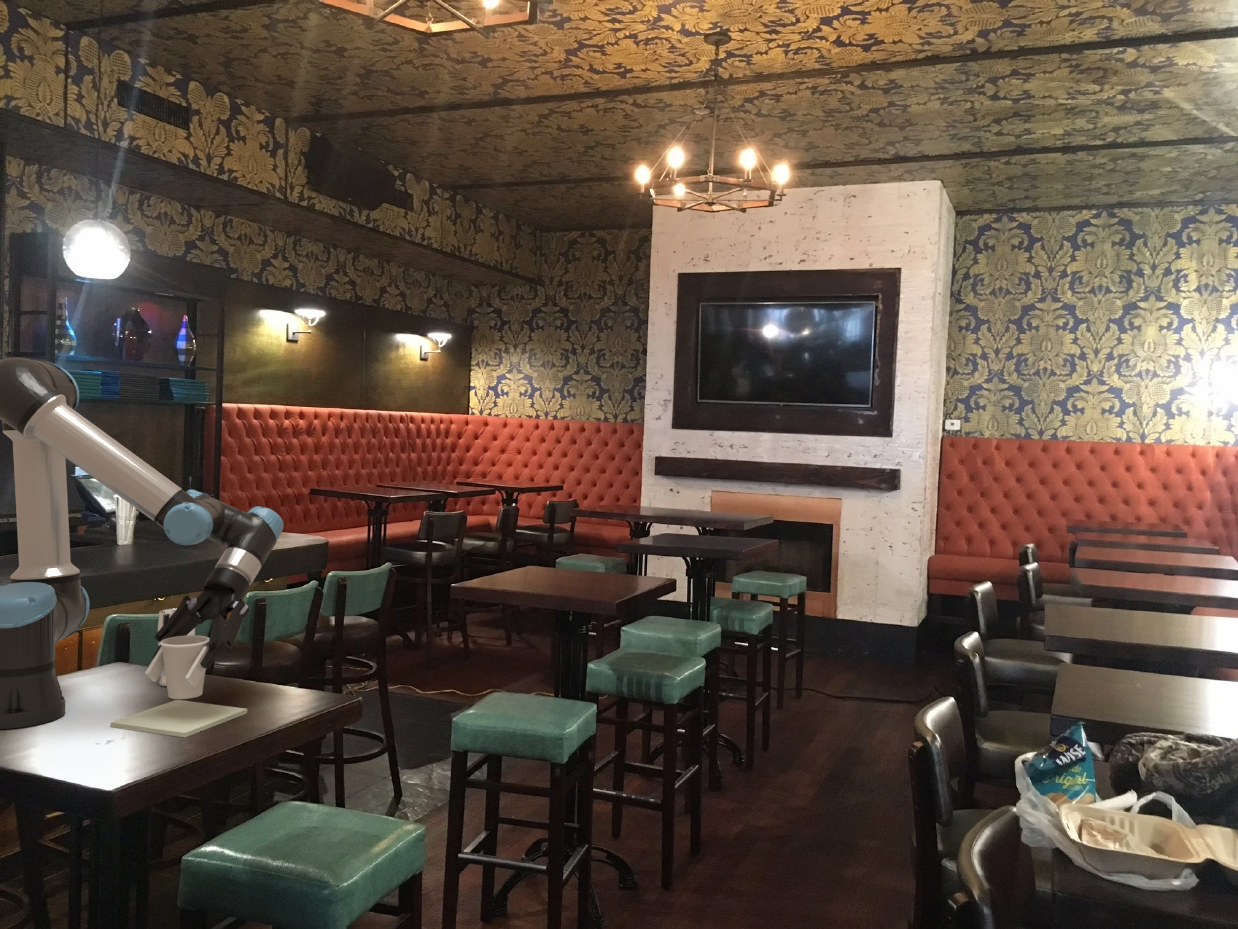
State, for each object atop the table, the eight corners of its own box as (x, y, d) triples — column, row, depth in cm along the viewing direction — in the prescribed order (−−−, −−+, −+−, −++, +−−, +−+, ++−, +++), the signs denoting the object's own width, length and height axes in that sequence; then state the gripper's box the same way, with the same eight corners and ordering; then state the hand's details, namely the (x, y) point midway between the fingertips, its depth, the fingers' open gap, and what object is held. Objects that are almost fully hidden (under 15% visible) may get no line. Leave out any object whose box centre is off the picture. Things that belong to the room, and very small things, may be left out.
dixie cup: (192, 686, 185) (192, 633, 185) (220, 693, 180) (220, 639, 180) (150, 696, 178) (150, 640, 178) (178, 703, 173) (178, 647, 173)
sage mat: (110, 726, 174) (110, 722, 174) (176, 703, 189) (176, 699, 189) (185, 737, 169) (185, 733, 169) (247, 713, 184) (247, 708, 184)
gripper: (286, 592, 190) (229, 696, 175) (197, 585, 196) (134, 685, 181) (269, 568, 184) (208, 673, 170) (177, 562, 191) (111, 663, 176)
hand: (170, 679), depth 175 cm, fingers closed on dixie cup, 8 cm apart
